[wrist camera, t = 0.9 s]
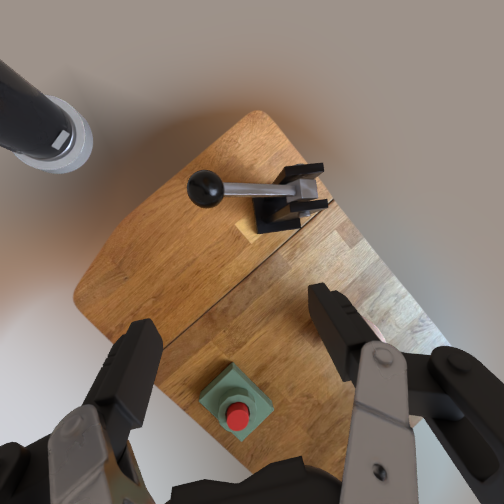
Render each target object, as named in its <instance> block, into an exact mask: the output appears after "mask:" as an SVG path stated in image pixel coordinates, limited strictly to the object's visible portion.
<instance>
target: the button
mask: <svg viewBox="0 0 504 504" xmlns="http://www.w3.org/2000/svg"><path fill="white" fill-rule="evenodd" d="M248 422H249V415H248V408H247V406H246V405H245V404H244V403H242V402H235V403H233V404H231V405H230V406H229V408H228V410H227V425H228V427H229V428H230V429H231V430H233V431H240V430H243V429H244V428H245V427H246V426H247V425H248Z"/></svg>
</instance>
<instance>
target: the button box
mask: <svg viewBox="0 0 504 504" xmlns="http://www.w3.org/2000/svg"><path fill="white" fill-rule="evenodd" d="M199 402H200V403H201V404H202V405H203V406H204V407H205V408H206V409H208V410H209V411H210V412H211V413H212V414H213V415H214V416H215V417H216V418H217V419H218V420H219V423H220V425H221V426H222V427H223V428H224V429H225V430H226V431H230V432H232V433H233V434H234V435H235V436H236V437H237V438H238V439H239V440H240V441H241V442H242V441H243V440H244V439H245V438H246V437H247V436H248V435H249V434H250V433H251V432H252V431H253V430H254V429H255V428H256V427H257V426H258V425H259V424H260V423H261V422H262V421H263V420H264V419H265V418H266V417H267V416H268V415H269V414H270V413H271V412H272V411H273V410H274V408H273V404H272V401H271V400H270V399H269V398H268V397H267V396H266V395H265V394H264V393H263V392H262V391H261V390H260V389H259V388H258V387H257V386H256V385H255V384H254V383H253V382H252V381H251V380H250V379H249V378H248V377H247V376H246V375H245V374H244V373H243V372H242V371H241V370H240V369H239V368H238V367H237V366H236V365H235V364H234V363H233V362H232V363H231V364H230V365H229V366H228V367H227V368H226V369H225V370H223V371H222V372H221V373H220V374H219V375H218V376H217V377H216V378H215V379H214V380H213V381H212V382H211V383H210V384H209V385H208V386H207V387H206V388H205V389H204V390H202V391H201V392H200V397H199ZM235 402H242V403H244V404H245V405H246V406H247V408H248V415H249V422H248V425H247V426H246V427H245V428H244V429H243V430H240V431H233V430H231V429H230V428H229V427H228V425H227V410H228V408H229V406H230V405H231V404H233V403H235Z"/></svg>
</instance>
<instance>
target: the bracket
mask: <svg viewBox="0 0 504 504" xmlns="http://www.w3.org/2000/svg"><path fill="white" fill-rule="evenodd" d="M323 172H324V166H323V163H315V164H305V165H304V164H296V165H294V166H286V167H284V168H283V170H282V171H281V172H280V174H279V175H278V177H277V178H276V179H275V181H274V182H273V183H272V184H275V185H285V184H288V183H290V182H293V181H295V180H297V179H315V178H316V177H317V176H319V175H320V174H321V173H323ZM252 201H253V208H254V215H255V222H256V230H257V234H263V233H271V232H278V231H285V230H293V229H299V228H301V223H300V218H302V217H308V216H310V214H312V213H315V212H318V211H321V210H323V209H326V208H328V201H327V199H323V200H315V201H307V202H298V203H287V198H286V197H252Z"/></svg>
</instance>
